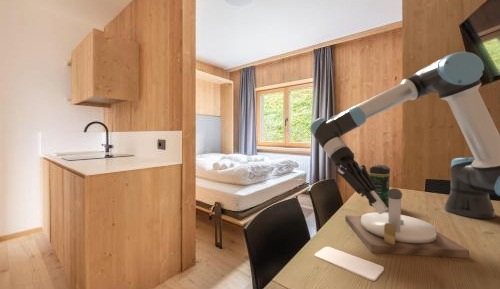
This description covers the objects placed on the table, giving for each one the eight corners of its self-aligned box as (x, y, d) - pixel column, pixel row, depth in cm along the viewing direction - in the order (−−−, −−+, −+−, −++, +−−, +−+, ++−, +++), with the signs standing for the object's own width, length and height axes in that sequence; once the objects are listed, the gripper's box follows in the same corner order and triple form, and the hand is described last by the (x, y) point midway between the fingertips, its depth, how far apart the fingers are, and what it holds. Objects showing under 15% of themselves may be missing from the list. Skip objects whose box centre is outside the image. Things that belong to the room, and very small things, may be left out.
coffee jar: (385, 208, 101) (386, 166, 100) (366, 204, 106) (367, 165, 106) (391, 204, 108) (392, 165, 107) (373, 200, 113) (373, 163, 113)
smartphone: (326, 245, 65) (385, 267, 54) (326, 248, 65) (385, 270, 54) (312, 254, 60) (374, 280, 49) (312, 257, 60) (374, 283, 49)
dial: (366, 214, 86) (367, 176, 86) (434, 226, 75) (435, 182, 74) (355, 231, 70) (355, 185, 70) (439, 250, 58) (440, 195, 58)
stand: (413, 223, 83) (414, 204, 83) (468, 258, 59) (469, 231, 59) (345, 220, 86) (345, 202, 86) (371, 252, 62) (371, 227, 62)
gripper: (344, 158, 88) (386, 214, 74) (320, 160, 81) (361, 221, 67) (357, 145, 83) (405, 202, 69) (332, 145, 77) (380, 208, 63)
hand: (383, 211), depth 68 cm, fingers closed
